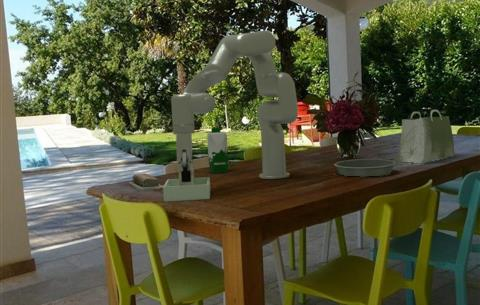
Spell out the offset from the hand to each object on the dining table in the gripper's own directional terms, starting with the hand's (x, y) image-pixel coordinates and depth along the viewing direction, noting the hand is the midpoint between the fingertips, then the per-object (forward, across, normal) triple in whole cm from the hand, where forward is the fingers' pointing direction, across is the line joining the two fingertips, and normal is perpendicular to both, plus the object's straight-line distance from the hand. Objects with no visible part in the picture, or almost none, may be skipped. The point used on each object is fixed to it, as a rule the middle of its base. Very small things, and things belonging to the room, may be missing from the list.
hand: (186, 180), depth 188 cm
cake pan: (+6, -27, +71) cm, 76 cm away
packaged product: (+6, -25, -18) cm, 31 cm away
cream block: (+2, 0, 0) cm, 2 cm away
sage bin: (+6, 0, 0) cm, 6 cm away
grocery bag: (+6, -55, +108) cm, 121 cm away
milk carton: (+6, -52, +11) cm, 54 cm away
